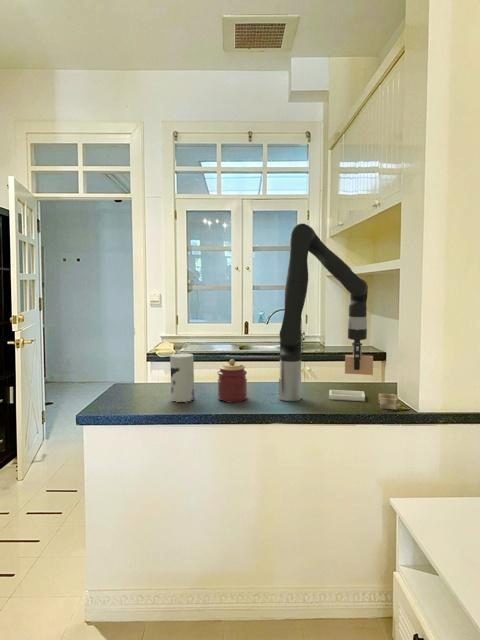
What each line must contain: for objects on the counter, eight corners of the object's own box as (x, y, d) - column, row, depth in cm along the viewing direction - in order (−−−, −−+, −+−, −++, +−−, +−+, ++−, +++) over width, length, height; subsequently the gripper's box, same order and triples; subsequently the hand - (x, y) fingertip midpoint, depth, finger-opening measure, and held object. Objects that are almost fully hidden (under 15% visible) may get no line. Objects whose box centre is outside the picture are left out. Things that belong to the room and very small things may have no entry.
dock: (380, 408, 173) (380, 398, 172) (378, 403, 180) (378, 393, 180) (398, 409, 171) (398, 399, 171) (396, 403, 179) (396, 394, 178)
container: (166, 400, 188) (165, 355, 187) (184, 395, 196) (183, 352, 194) (181, 404, 182) (180, 357, 180) (198, 399, 189) (198, 354, 187)
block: (344, 373, 177) (345, 356, 176) (345, 371, 182) (345, 354, 181) (372, 375, 174) (373, 358, 173) (372, 372, 179) (372, 355, 178)
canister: (219, 394, 196) (218, 356, 195) (247, 394, 196) (247, 356, 194) (216, 403, 183) (215, 362, 182) (247, 402, 183) (246, 362, 181)
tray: (328, 399, 187) (329, 394, 186) (329, 394, 195) (329, 389, 195) (364, 401, 183) (364, 396, 183) (363, 395, 192) (363, 391, 192)
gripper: (347, 325, 184) (347, 364, 186) (348, 329, 170) (347, 371, 172) (366, 325, 182) (365, 365, 184) (367, 329, 168) (366, 372, 170)
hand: (356, 368), depth 178 cm, fingers closed on block, 5 cm apart
